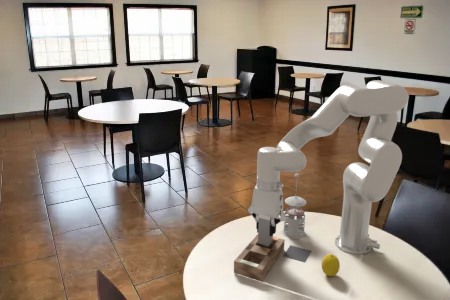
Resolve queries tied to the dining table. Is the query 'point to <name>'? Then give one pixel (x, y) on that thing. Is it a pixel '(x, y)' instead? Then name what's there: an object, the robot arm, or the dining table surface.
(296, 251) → the mat
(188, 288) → the dining table surface
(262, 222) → the plug
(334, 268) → the lemon
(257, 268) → the socket block
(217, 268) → the dining table surface
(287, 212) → the french press
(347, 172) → the robot arm
